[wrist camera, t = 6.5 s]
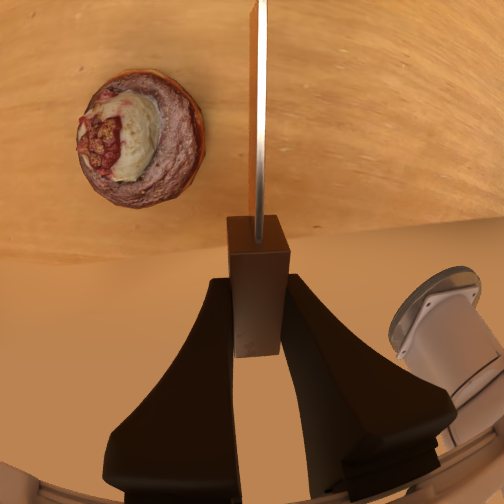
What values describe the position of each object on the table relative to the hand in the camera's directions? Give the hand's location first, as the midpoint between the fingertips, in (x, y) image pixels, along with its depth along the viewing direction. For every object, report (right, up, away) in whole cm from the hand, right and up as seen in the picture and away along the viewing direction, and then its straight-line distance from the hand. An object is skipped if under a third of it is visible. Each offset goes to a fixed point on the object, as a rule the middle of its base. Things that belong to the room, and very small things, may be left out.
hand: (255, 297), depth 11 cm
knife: (0, +4, -1) cm, 4 cm away
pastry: (-6, +8, +4) cm, 11 cm away
